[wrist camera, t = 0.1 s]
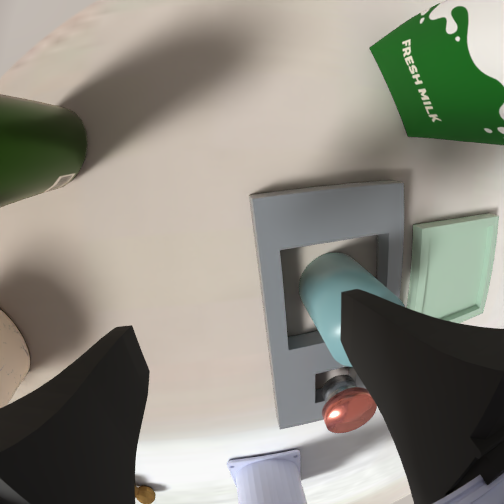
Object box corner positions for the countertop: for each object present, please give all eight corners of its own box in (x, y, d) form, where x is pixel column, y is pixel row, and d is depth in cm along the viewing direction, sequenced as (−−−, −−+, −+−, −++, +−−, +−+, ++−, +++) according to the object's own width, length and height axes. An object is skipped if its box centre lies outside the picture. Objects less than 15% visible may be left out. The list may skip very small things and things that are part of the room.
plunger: (357, 396, 23) (372, 423, 19) (314, 408, 22) (325, 438, 19) (362, 363, 21) (380, 391, 18) (314, 376, 21) (327, 407, 18)
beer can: (106, 153, 16) (-29, 166, 5) (51, 204, 17) (-78, 267, 6) (68, 92, 15) (-63, 56, 3) (17, 145, 15) (-114, 162, 4)
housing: (375, 391, 26) (381, 401, 24) (276, 416, 25) (279, 429, 23) (391, 179, 19) (403, 182, 17) (249, 195, 18) (252, 198, 17)
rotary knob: (359, 306, 22) (404, 359, 15) (300, 319, 22) (331, 382, 15) (361, 247, 20) (416, 288, 14) (296, 258, 20) (333, 309, 13)
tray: (475, 307, 24) (482, 312, 23) (402, 334, 24) (409, 341, 22) (490, 213, 21) (498, 216, 20) (413, 224, 20) (422, 228, 19)
